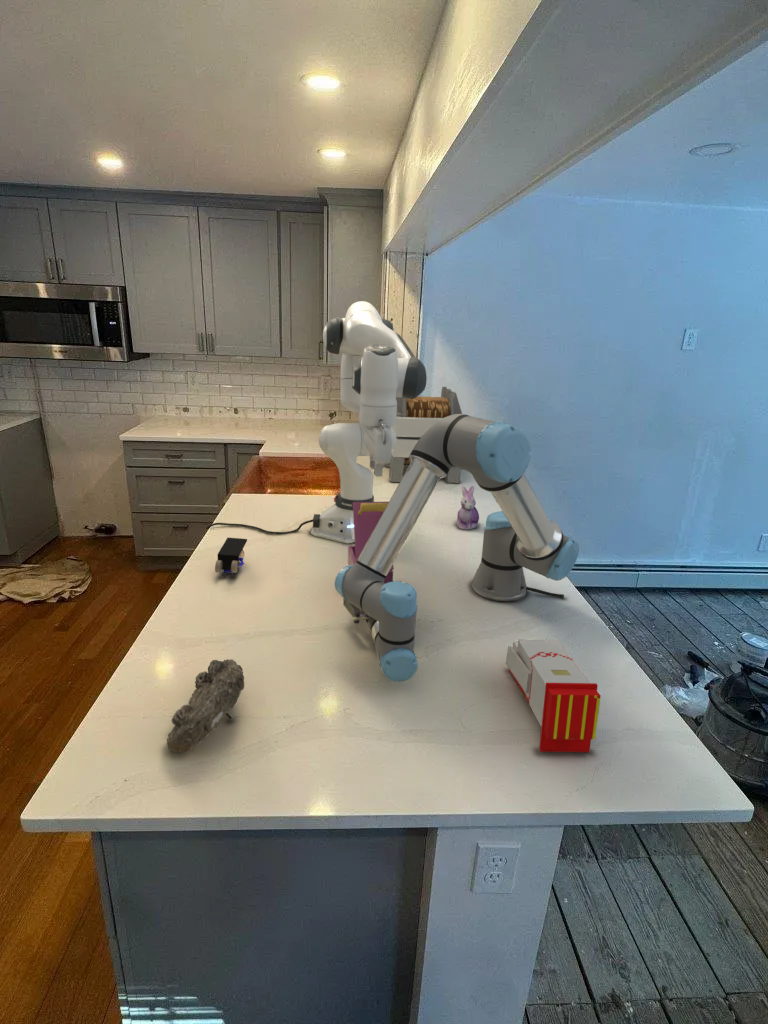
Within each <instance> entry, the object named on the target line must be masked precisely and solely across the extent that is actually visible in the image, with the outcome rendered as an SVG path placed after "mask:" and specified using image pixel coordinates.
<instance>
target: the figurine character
mask: <svg viewBox="0 0 768 1024" xmlns="http://www.w3.org/2000/svg"><path fill="white" fill-rule="evenodd" d="M247 542H248V538H240V537H226V539H225V541H224V543H223V544H222V546H221V547H220V549H219V551H218V552H217V560H216V562H215V564H214V572H215V573H221V577H222V578H224V577H225V576H226V574H227V573H230V574H231V573H232V574H231V578H234V577H235V575H236V573H237V572H239V571H240V567H242V566H243V565H244V564H245V562H244V558H245V551H244V547H245V546H246V544H247Z"/></svg>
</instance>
